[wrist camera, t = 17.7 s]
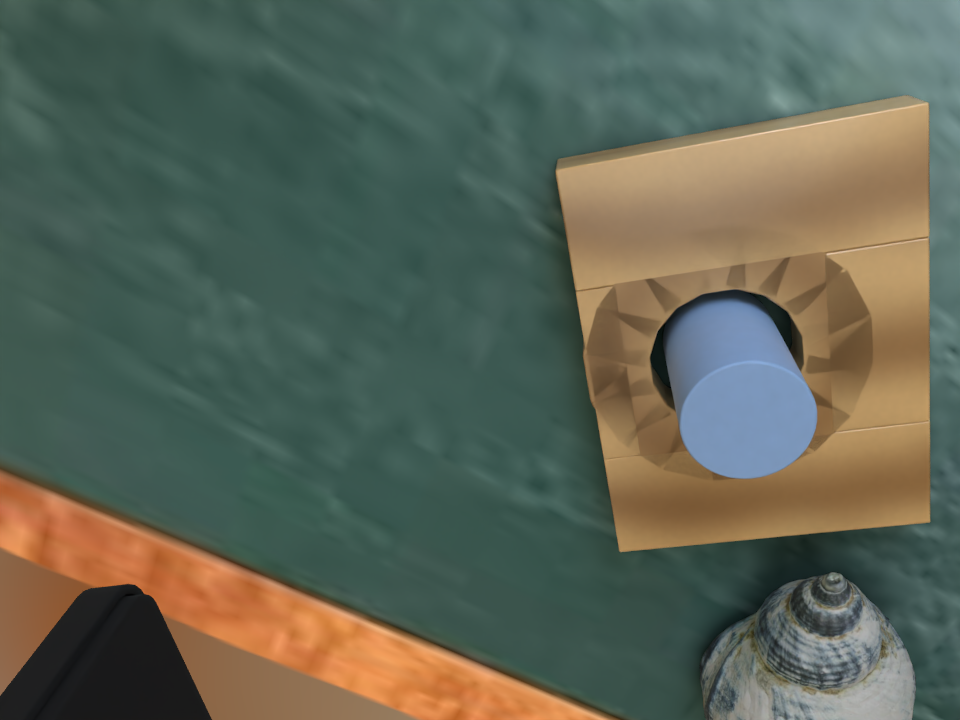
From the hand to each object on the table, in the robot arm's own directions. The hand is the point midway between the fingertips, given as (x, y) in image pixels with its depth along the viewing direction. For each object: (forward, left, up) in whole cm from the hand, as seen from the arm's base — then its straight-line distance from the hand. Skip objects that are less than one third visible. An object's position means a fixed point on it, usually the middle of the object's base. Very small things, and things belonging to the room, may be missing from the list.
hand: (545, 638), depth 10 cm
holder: (+7, +6, -24) cm, 25 cm away
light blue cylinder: (+7, +4, -24) cm, 25 cm away
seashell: (+22, +7, -24) cm, 33 cm away
